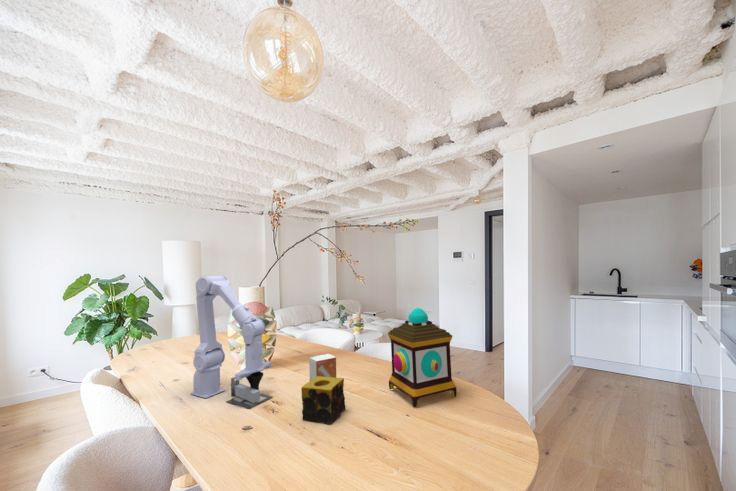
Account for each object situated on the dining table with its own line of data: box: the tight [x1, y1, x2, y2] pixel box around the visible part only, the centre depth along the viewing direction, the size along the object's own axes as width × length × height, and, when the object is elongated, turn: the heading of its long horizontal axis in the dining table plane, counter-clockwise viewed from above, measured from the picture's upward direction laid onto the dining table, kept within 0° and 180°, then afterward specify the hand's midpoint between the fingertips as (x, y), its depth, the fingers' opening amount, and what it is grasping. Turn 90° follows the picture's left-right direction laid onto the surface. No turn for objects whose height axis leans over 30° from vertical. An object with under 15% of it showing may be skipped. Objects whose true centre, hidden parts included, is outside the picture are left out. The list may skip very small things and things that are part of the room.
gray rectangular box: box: [235, 383, 261, 403], centre depth 108 cm, size 12×2×3 cm, turn 52°
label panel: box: [225, 393, 274, 410], centre depth 108 cm, size 12×10×1 cm
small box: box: [308, 353, 337, 381], centre depth 111 cm, size 8×6×13 cm
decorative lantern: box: [387, 307, 458, 408], centre depth 109 cm, size 20×20×30 cm
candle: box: [301, 376, 346, 425], centre depth 95 cm, size 10×10×10 cm
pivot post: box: [230, 377, 240, 398], centre depth 113 cm, size 3×3×6 cm
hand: (254, 394), depth 108 cm, fingers closed, pressing on gray rectangular box
